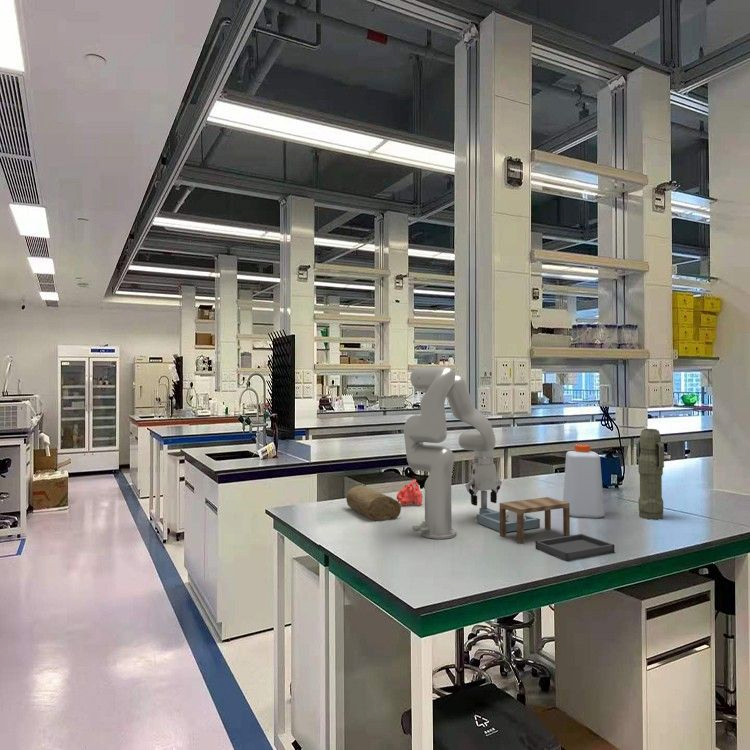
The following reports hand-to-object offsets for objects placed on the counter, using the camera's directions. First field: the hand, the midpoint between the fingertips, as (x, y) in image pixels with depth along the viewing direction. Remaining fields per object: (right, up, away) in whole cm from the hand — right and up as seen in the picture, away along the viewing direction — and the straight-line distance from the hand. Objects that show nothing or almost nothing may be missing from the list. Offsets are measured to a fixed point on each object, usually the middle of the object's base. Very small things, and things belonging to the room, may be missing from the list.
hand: (484, 503), depth 226 cm
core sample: (-45, -6, +6) cm, 46 cm away
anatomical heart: (-29, -6, +21) cm, 36 cm away
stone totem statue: (+66, -5, -2) cm, 66 cm away
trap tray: (+21, -5, -44) cm, 49 cm away
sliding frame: (+5, -5, -10) cm, 12 cm away
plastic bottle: (+41, -5, +4) cm, 42 cm away
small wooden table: (+13, -5, -27) cm, 30 cm away
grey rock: (+8, -5, -17) cm, 19 cm away
